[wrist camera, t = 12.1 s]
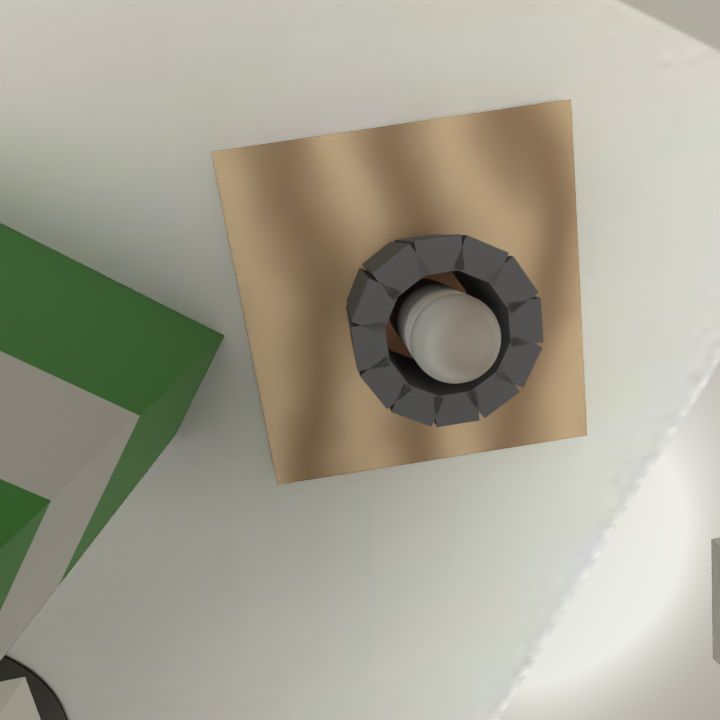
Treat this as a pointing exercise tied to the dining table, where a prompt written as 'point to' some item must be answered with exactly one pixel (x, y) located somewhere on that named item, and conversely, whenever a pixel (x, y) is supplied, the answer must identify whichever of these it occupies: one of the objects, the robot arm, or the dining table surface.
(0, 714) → the robot arm
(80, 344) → the hardback book
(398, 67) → the dining table surface
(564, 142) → the post stand
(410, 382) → the rubber collar
